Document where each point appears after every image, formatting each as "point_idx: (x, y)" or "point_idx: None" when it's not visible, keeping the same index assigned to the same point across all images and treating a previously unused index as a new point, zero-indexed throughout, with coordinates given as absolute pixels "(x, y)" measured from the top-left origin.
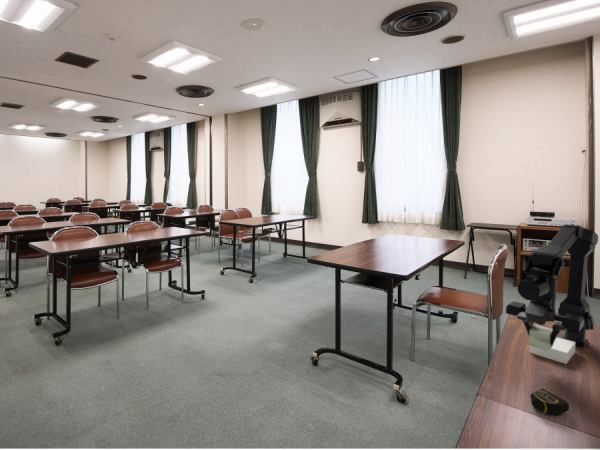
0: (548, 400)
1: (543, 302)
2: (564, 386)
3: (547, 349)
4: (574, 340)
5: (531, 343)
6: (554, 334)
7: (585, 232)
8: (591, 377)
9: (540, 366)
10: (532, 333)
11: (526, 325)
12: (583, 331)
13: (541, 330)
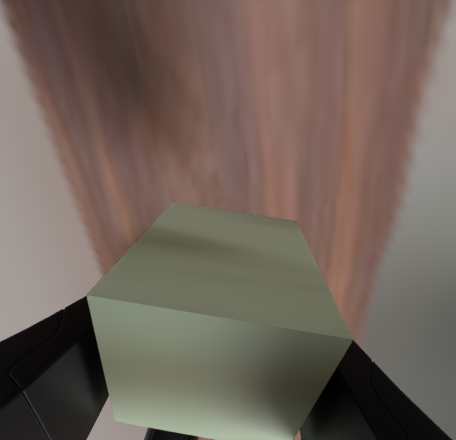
0: None
1: None
2: (125, 84)
3: (175, 206)
4: None
5: (282, 227)
6: (48, 331)
7: None
8: (91, 225)
9: (232, 205)
10: (298, 291)
11: (411, 421)
12: (147, 432)
13: (205, 370)
